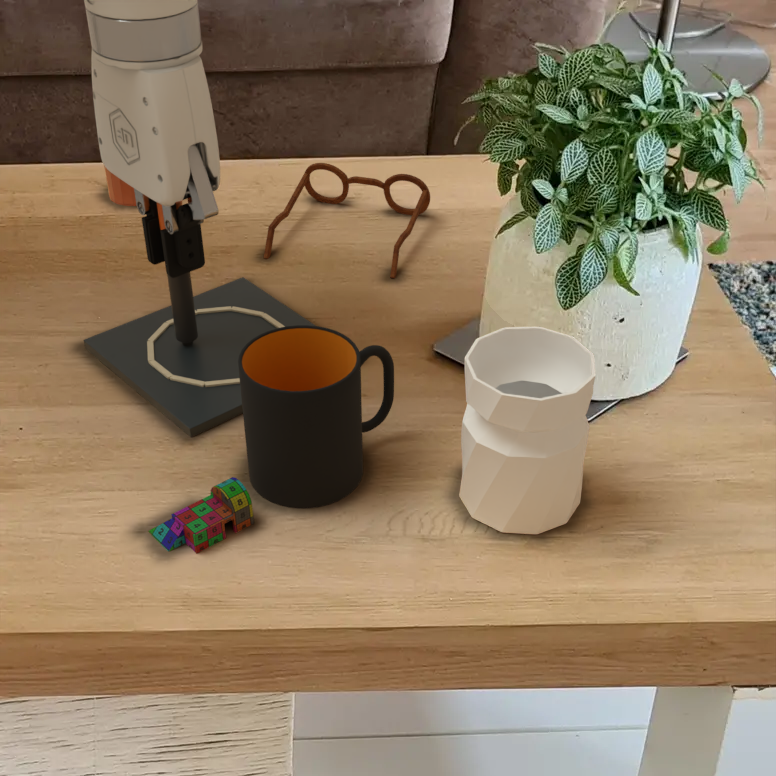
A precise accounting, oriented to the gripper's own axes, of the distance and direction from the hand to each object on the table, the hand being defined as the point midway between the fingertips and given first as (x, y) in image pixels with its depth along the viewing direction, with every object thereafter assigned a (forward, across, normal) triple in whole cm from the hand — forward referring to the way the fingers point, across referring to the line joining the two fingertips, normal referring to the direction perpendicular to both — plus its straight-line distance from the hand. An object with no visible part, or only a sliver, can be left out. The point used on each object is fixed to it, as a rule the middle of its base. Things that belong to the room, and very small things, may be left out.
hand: (176, 263), depth 92 cm
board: (+9, +2, +2) cm, 9 cm away
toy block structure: (+9, +19, -11) cm, 24 cm away
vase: (+9, +31, +8) cm, 33 cm away
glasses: (+9, -7, +23) cm, 25 cm away
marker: (+8, 0, 0) cm, 8 cm away
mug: (+9, +19, 0) cm, 21 cm away
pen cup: (+9, -28, +12) cm, 32 cm away
